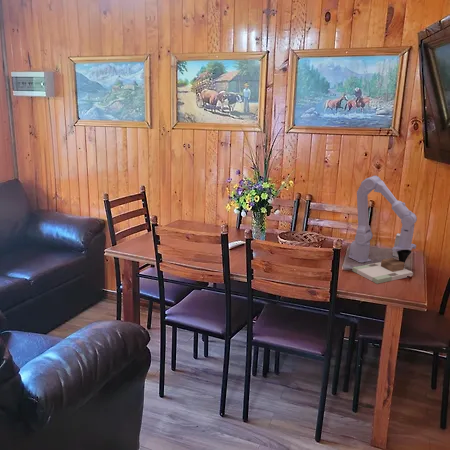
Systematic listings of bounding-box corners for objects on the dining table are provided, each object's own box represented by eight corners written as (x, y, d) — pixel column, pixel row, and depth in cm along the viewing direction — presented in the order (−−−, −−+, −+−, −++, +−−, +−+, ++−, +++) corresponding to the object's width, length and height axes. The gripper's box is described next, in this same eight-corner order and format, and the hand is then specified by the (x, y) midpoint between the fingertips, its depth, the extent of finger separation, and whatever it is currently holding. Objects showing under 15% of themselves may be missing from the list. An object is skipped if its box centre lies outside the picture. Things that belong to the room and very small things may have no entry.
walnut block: (380, 266, 218) (381, 259, 217) (391, 264, 222) (392, 257, 221) (392, 271, 212) (393, 265, 211) (403, 269, 215) (404, 262, 214)
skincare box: (391, 256, 239) (395, 234, 235) (393, 253, 243) (396, 232, 239) (403, 258, 236) (407, 237, 232) (405, 256, 240) (408, 235, 236)
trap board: (352, 271, 216) (352, 267, 215) (386, 264, 226) (387, 260, 226) (377, 283, 202) (377, 279, 202) (412, 276, 213) (413, 272, 212)
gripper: (402, 241, 209) (397, 268, 213) (423, 238, 215) (418, 264, 219) (390, 237, 214) (386, 263, 218) (411, 234, 221) (406, 259, 225)
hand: (401, 263), depth 219 cm, fingers closed
